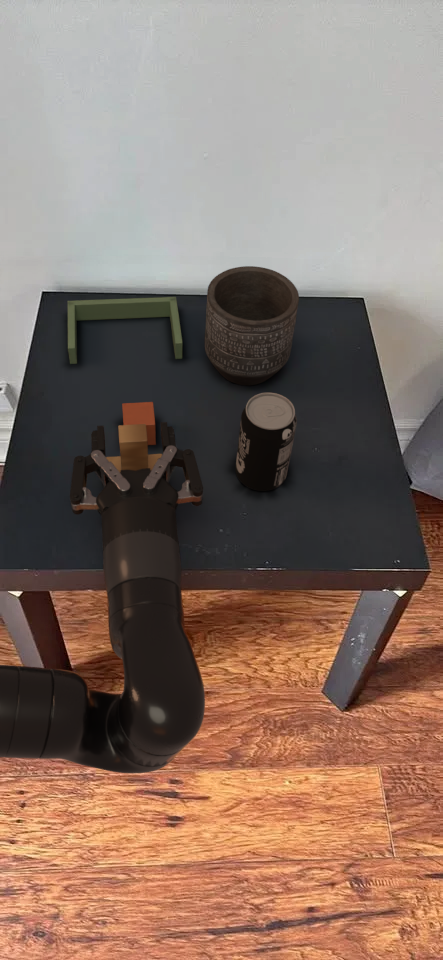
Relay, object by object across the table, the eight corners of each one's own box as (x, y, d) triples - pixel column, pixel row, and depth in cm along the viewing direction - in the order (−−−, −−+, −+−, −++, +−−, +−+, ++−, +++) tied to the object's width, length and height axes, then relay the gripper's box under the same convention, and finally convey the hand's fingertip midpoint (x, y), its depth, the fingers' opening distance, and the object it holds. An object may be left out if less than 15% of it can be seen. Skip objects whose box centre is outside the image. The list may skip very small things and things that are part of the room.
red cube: (125, 446, 98) (123, 426, 94) (123, 424, 100) (122, 403, 97) (155, 444, 98) (155, 424, 95) (153, 422, 100) (153, 401, 97)
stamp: (109, 524, 90) (100, 449, 79) (106, 472, 95) (98, 394, 84) (167, 519, 91) (166, 445, 80) (162, 468, 96) (160, 391, 85)
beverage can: (228, 460, 97) (234, 395, 88) (275, 450, 99) (286, 385, 89) (244, 499, 93) (252, 436, 84) (293, 488, 95) (307, 424, 85)
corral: (70, 364, 106) (67, 348, 104) (69, 316, 113) (67, 300, 110) (182, 358, 108) (182, 343, 106) (175, 312, 115) (175, 296, 112)
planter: (303, 379, 107) (317, 308, 97) (229, 406, 103) (236, 335, 93) (260, 327, 113) (268, 256, 103) (188, 351, 109) (190, 279, 99)
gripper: (216, 528, 72) (197, 401, 82) (63, 540, 70) (63, 409, 80) (212, 569, 77) (195, 446, 87) (71, 580, 76) (70, 454, 86)
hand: (132, 429), depth 84 cm, fingers open, 6 cm apart
